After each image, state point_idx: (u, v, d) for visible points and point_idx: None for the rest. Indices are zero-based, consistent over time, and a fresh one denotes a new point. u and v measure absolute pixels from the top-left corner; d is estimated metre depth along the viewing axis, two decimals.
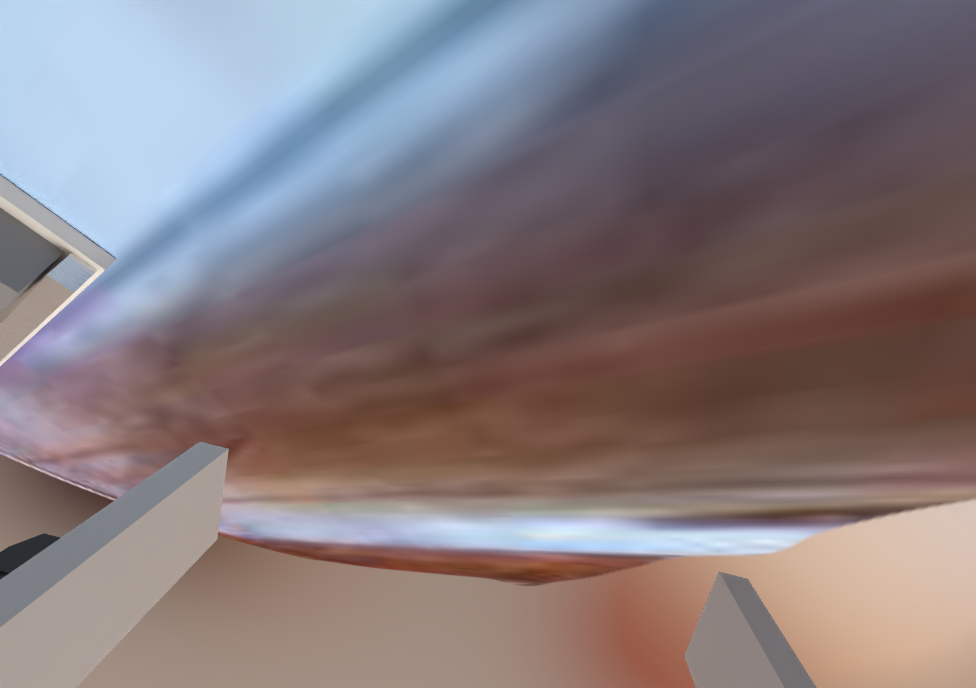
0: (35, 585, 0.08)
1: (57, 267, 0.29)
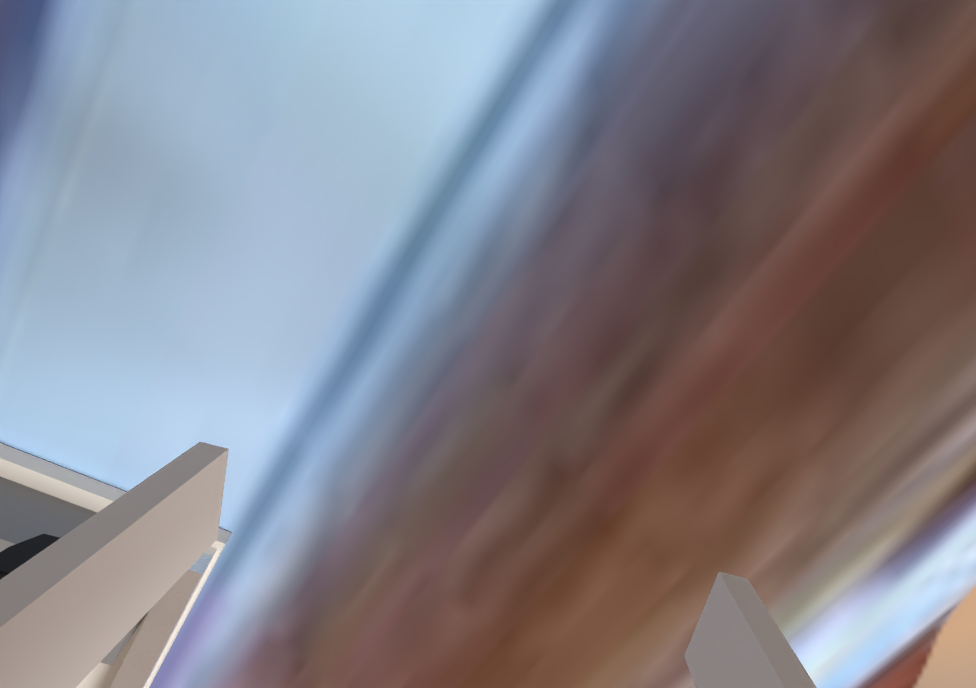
0: (35, 585, 0.08)
1: None
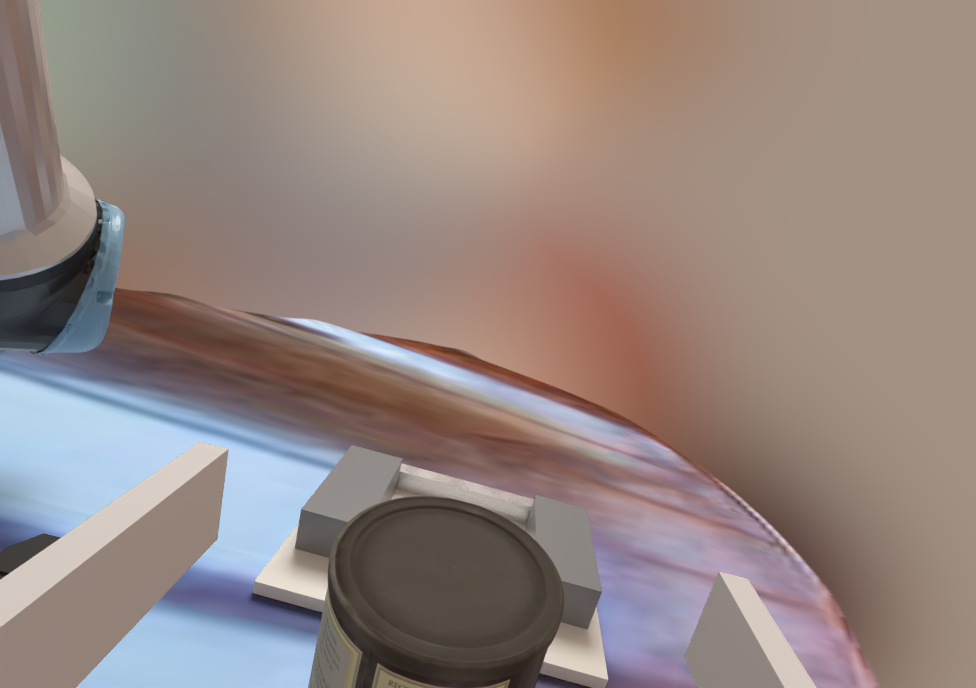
0: (35, 585, 0.08)
1: None
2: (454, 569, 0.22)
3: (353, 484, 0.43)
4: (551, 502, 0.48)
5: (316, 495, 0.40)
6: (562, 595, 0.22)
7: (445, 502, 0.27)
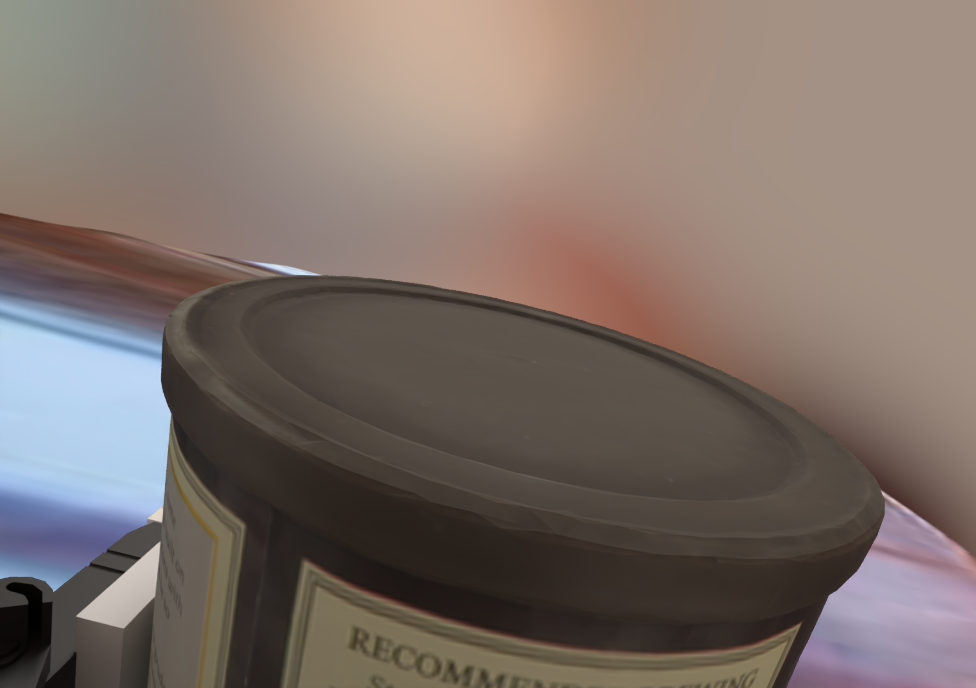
0: None
1: None
2: (534, 363, 0.09)
3: None
4: None
5: None
6: None
7: (483, 299, 0.13)
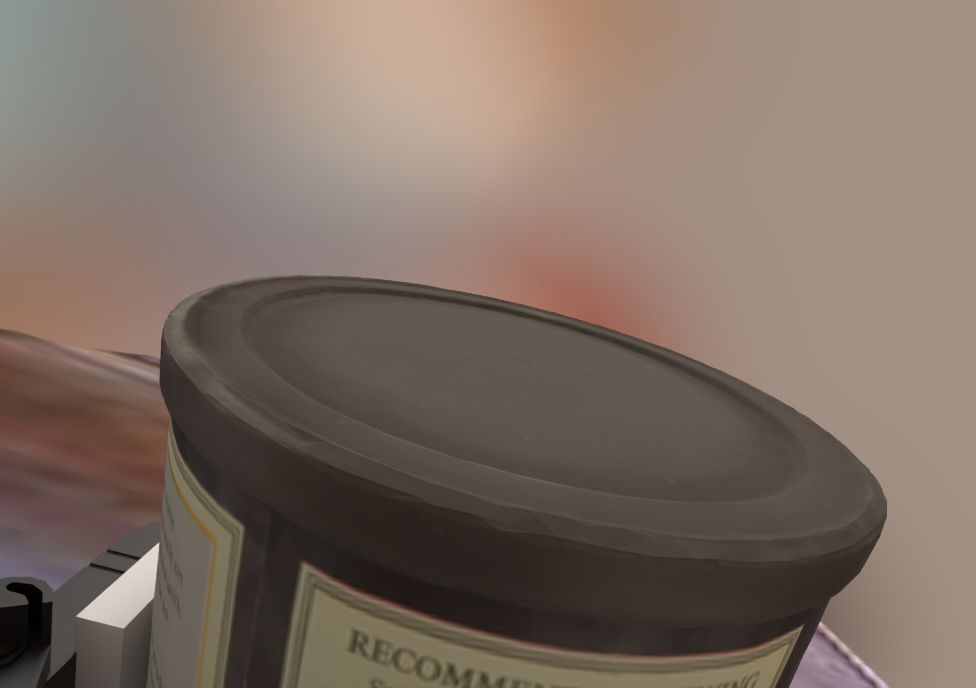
0: None
1: None
2: (534, 363, 0.09)
3: None
4: None
5: None
6: None
7: (483, 299, 0.13)
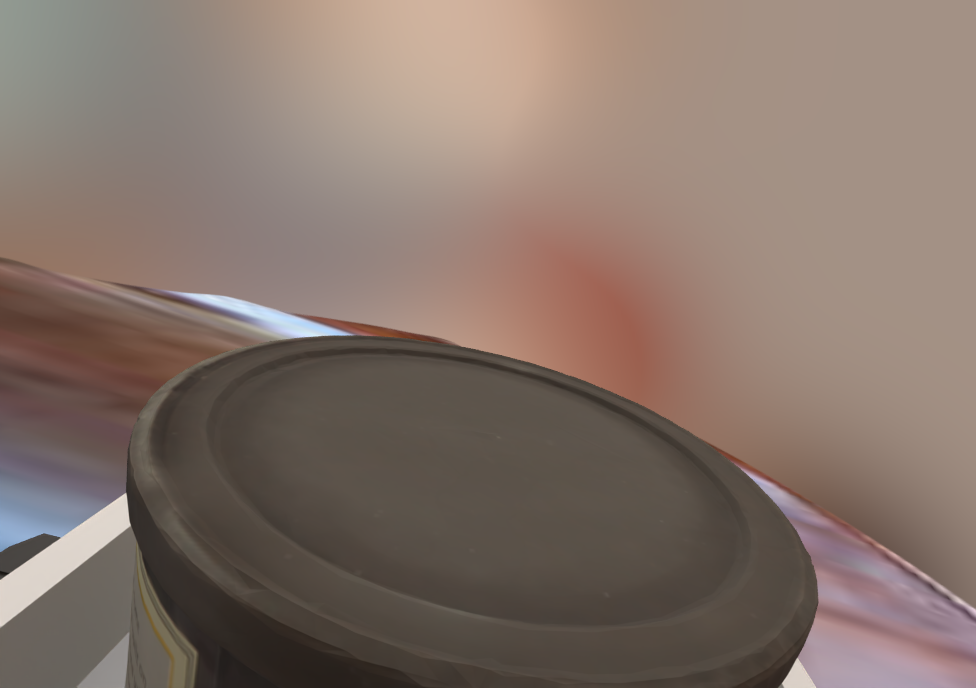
0: (36, 585, 0.08)
1: None
2: (497, 439, 0.09)
3: None
4: None
5: None
6: (771, 499, 0.09)
7: (460, 351, 0.13)
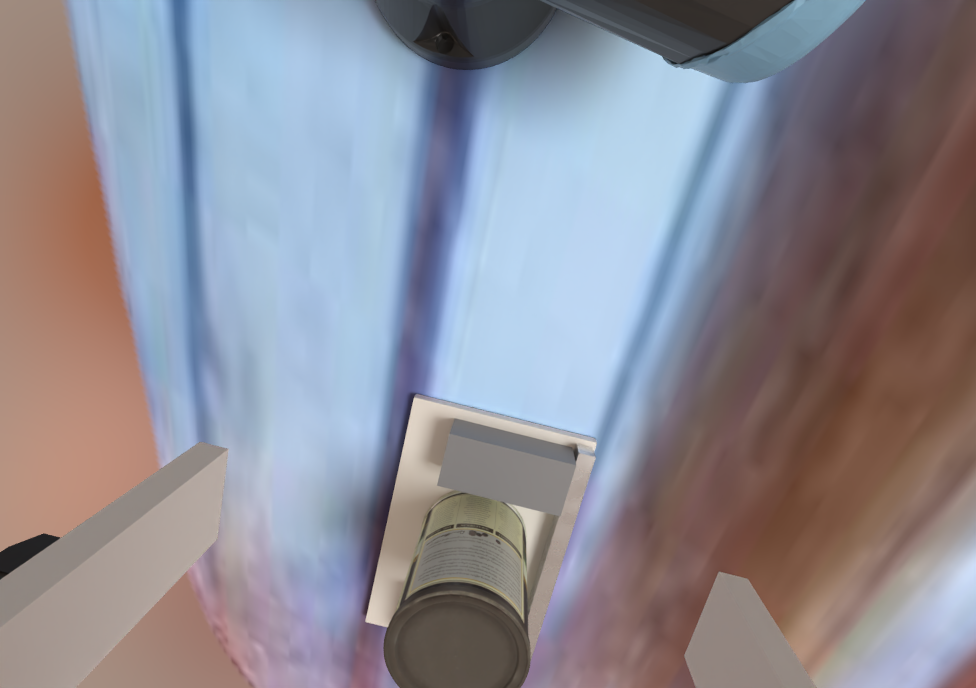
0: (35, 585, 0.08)
1: (578, 449, 0.45)
2: (454, 655, 0.36)
3: (498, 472, 0.44)
4: None
5: (472, 442, 0.43)
6: None
7: (523, 658, 0.35)
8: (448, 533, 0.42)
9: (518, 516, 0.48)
